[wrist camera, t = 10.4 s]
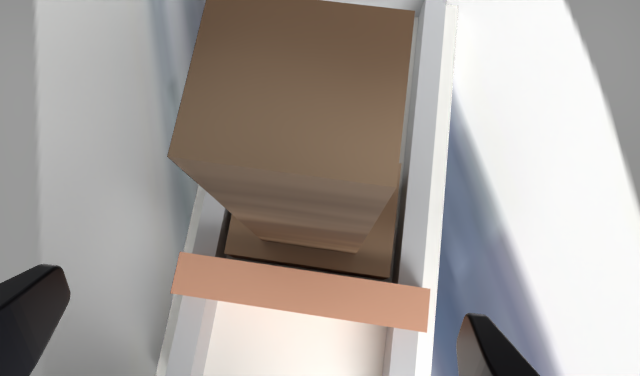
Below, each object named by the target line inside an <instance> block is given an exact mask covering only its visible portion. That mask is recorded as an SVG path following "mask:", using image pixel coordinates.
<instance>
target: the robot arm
mask: <svg viewBox="0 0 640 376" xmlns="http://www.w3.org/2000/svg"><path fill="white" fill-rule="evenodd" d="M69 300H70V290H69V286H68V283H67V280H66V277H65V274H64V271H63V269H62V268H61V267H60V266H57V265H48V264H40V265H38V266H35V267H33V268H31V269H29V270H27V271H25V272H23V273H21V274H19V275H17V276H15V277H13V278H11V279H9V280H6V281H4V282H2V283H0V376H29V375H30V374H31V372H32V371H33V369H34V367H35V366H36V364H37V362H38V360H39V359H40V357H41V355H42V353H43V351H44V349H45V347H46V345H47V344H48V342H49V340H50V338H51V336H52V334H53V332H54V330H55V328H56V326H57V324H58V322H59V320H60V319H61V317H62V315H63V313H64V311H65V309H66V307H67V305H68V303H69ZM456 349H457V360H458V371H459V376H540V375H539V374H538V373H537V372H536V370H535V369H534V368H533V367H532V366H531V365H530V364H529V363H528V361H527V360H526V359H525V358H524V357H523V356H522V355H521V353H520V352H519V351H518V350H517V349H516V348H515V347H514V346H513V344H512V343H511V342H510V341H509V340H508V339H507V338H506V336H505V335H504V334H503V333H502V332H501V331H500V330H499V328H498V327H497V326H496V325H495V324H494V323H493V322H492V321H491V319H490V318H489V317H487V316H486V315H483V314H475V313H467V314H466V315H465V317H464V319H463V322H462V326H461V329H460V332H459V335H458V338H457V345H456Z"/></svg>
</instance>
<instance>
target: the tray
mask: <svg viewBox="0 0 640 376" xmlns="http://www.w3.org/2000/svg"><path fill="white" fill-rule="evenodd" d="M324 1H333V2H341V3H350V4H359V5H368V6H377V7H386V8H395V9H404V10H412V11H415V17H414V26H413V36H412V45H411V55H410V64H409V74H408V83H407V93H406V103H405V112H404V122H403V131H402V141H401V150H400V160H399V163H401V173H400V183H399V192H398V202H397V212H396V221H395V231H394V241H393V250H392V260H391V270H390V278H388V279H385V280H381V279H374V278H367V277H360V276H354V275H347V274H340V273H333V272H327V271H320V270H313V269H306V268H300V267H293V266H286V265H279V264H272V263H266V262H259V261H252V260H245V259H239V258H233V257H231V256H229V255H227V254H224V250H225V246H226V241H227V236H228V231H229V226H230V221H231V216H232V214H231V213H230V212H229V211H228V210H227V209H226V208H225V207H223V206H222V205H221V204H220V203H219V202H218V201H217V200H216V199H214V198H213V197H212V196H211V195H210V194H209V193H208V192H207V191H205V190H204V189H203V188H202V187H201V186H200V185H199V184H198V188H197V193H196V197H195V202H194V206H193V211H192V215H191V219H190V224H189V228H188V233H187V237H186V242H185V246H184V250H183V252H180V253H179V257H178V262H177V266H176V271H175V275H174V279H173V284H172V288H171V294H174V295H173V299H172V304H171V308H170V312H169V317H168V321H167V326H166V330H165V335H164V339H163V343H162V348H161V352H160V357H159V361H158V366H157V370H156V374H155V376H431V365H432V352H433V339H434V325H435V312H436V299H437V286H438V272H439V259H440V246H441V232H442V219H443V206H444V193H445V179H446V166H447V153H448V140H449V126H450V113H451V100H452V86H453V73H454V60H455V47H456V33H457V20H458V7H459V6H455V5H446V0H324Z"/></svg>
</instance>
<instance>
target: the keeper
mask: <svg viewBox="0 0 640 376" xmlns="http://www.w3.org/2000/svg"><path fill="white" fill-rule="evenodd" d="M414 17H415V11H412V10H404V9H395V8H386V7H377V6H368V5H359V4H350V3H341V2H333V1H324V0H206V3H205V7H204V11H203V15H202V19H201V23H200V27H199V31H198V35H197V39H196V43H195V47H194V51H193V55H192V59H191V63H190V67H189V71H188V75H187V79H186V83H185V87H184V91H183V95H182V99H181V103H180V107H179V111H178V115H177V119H176V123H175V127H174V131H173V135H172V139H171V144H170V148H169V152H168V156H167V157H168V158H169V159H171V160H172V161H173V162H174V163H175V164H176V165H177V166H178V167H180V168H181V169H182V170H183V171H184V172H185V173H186V174H187V175H189V176H190V177H191V178H192V179H193V180H194V181H195V182H196V183H198V184H199V185H200V186H201V187H202V188H203V189H204V190H205V191H207V192H208V193H209V194H210V195H211V196H212V197H213V198H214V199H216V200H217V201H218V202H219V203H220V204H221V205H222V206H223V207H225V208H226V209H227V210H228V211H229V212H230V213H231V214H232V216H231V221H230V226H229V231H228V236H227V241H226V246H225V250H224V254H227V255H229V256H231V257H233V258H239V259H245V260H252V261H259V262H266V263H272V264H279V265H286V266H293V267H300V268H306V269H313V270H320V271H327V272H333V273H340V274H347V275H354V276H360V277H367V278H374V279H381V280H385V279H388V278H390V270H391V260H392V250H393V241H394V231H395V221H396V212H397V202H398V192H399V183H400V173H401V163H399V160H400V150H401V141H402V131H403V122H404V112H405V103H406V93H407V83H408V74H409V64H410V55H411V45H412V36H413V26H414Z"/></svg>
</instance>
